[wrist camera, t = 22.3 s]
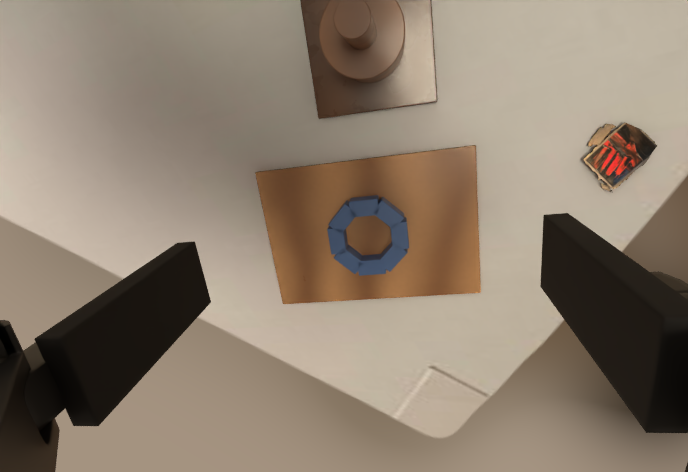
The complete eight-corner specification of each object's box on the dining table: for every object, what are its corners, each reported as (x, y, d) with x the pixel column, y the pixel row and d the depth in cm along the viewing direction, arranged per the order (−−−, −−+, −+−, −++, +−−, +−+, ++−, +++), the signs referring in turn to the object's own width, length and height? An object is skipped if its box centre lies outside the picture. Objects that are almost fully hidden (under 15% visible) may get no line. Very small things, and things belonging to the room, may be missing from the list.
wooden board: (284, 302, 41) (282, 304, 41) (256, 171, 37) (255, 172, 37) (479, 290, 38) (480, 292, 38) (474, 145, 34) (475, 145, 33)
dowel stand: (321, 118, 35) (279, 128, 23) (301, -10, 32) (242, -74, 20) (436, 101, 33) (454, 103, 21) (427, -36, 30) (443, -123, 18)
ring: (337, 271, 39) (334, 277, 38) (326, 200, 37) (322, 204, 35) (411, 265, 38) (411, 272, 36) (404, 192, 35) (404, 195, 34)
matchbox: (660, 140, 31) (663, 140, 31) (616, 195, 33) (619, 196, 33) (609, 113, 31) (612, 113, 31) (568, 170, 33) (570, 171, 33)
